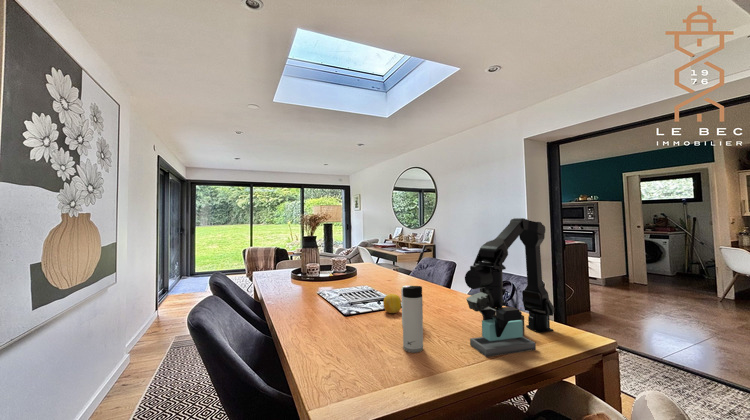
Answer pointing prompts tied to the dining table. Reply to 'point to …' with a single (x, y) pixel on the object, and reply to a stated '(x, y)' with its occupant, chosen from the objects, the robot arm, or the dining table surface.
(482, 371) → the dining table surface
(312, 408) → the dining table surface
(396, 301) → the fruit
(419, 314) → the travel mug
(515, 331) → the teal long block
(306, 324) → the dining table surface
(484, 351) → the tray
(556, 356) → the dining table surface
